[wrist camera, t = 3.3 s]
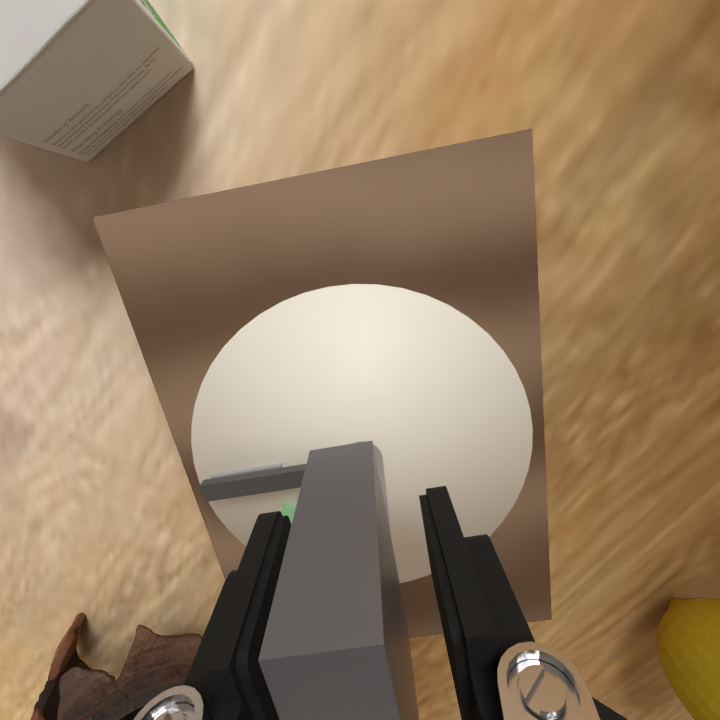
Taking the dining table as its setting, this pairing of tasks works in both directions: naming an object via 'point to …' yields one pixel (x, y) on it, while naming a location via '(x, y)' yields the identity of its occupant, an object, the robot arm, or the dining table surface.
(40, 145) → the small box
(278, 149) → the dining table surface
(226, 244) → the board
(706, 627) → the lemon
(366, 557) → the grey block with rod
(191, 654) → the broken clay pot
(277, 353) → the dial
